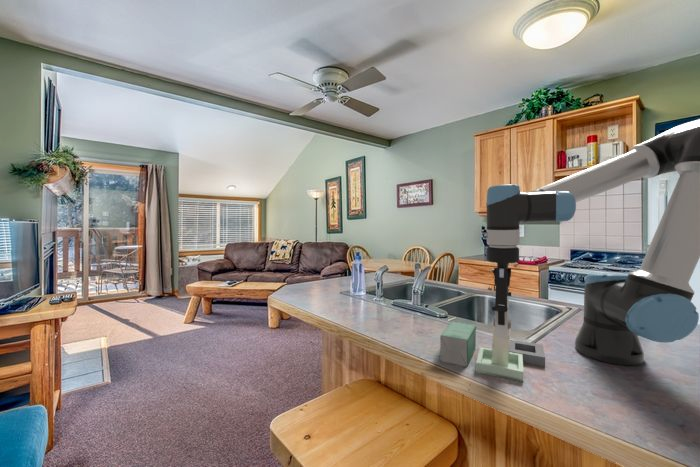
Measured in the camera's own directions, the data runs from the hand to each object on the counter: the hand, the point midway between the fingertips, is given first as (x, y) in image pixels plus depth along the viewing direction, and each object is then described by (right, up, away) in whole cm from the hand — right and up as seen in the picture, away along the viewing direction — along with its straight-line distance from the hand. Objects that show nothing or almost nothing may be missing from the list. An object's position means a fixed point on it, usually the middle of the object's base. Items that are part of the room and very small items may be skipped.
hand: (502, 327), depth 82 cm
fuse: (0, -10, +1) cm, 10 cm away
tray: (0, -11, +1) cm, 11 cm away
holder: (+10, -10, +7) cm, 16 cm away
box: (-8, -11, +9) cm, 16 cm away
